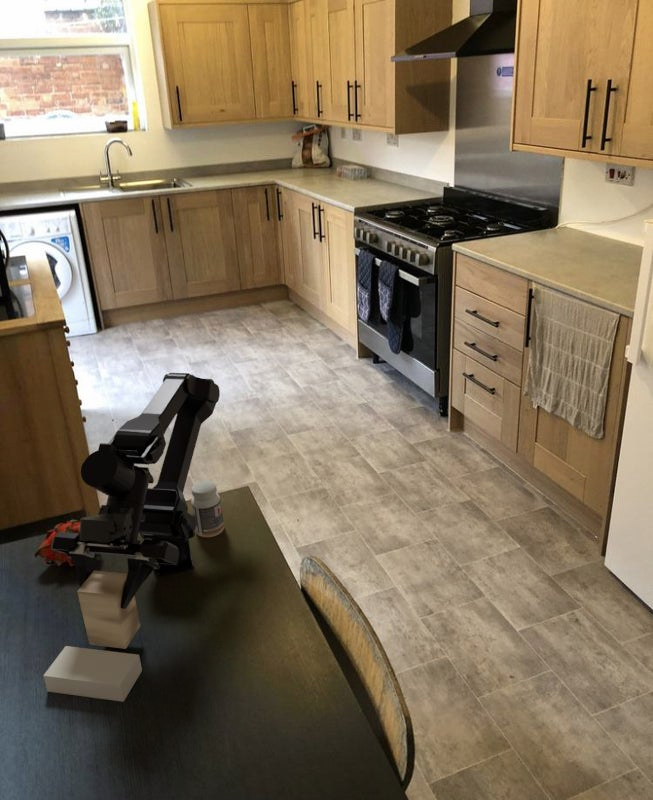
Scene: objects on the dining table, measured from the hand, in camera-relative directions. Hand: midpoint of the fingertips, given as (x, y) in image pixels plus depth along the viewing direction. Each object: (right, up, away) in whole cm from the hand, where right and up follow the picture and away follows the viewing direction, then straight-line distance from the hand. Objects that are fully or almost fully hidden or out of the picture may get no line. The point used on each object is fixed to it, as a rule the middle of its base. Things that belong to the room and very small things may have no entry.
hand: (103, 606), depth 104 cm
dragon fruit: (-14, 0, +27) cm, 30 cm away
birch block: (+1, -6, +4) cm, 7 cm away
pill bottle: (+10, +5, +34) cm, 36 cm away
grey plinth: (-1, -10, -1) cm, 11 cm away
